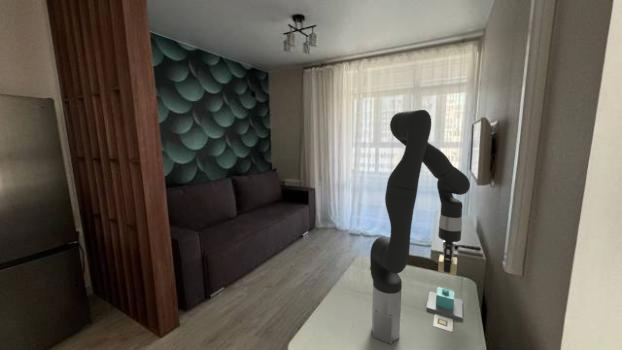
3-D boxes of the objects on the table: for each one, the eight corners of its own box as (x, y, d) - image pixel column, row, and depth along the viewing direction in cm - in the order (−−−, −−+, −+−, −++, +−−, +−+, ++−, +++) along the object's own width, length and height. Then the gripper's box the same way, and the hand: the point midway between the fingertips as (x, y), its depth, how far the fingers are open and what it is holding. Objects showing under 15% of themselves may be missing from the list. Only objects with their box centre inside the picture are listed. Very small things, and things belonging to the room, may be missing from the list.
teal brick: (453, 310, 96) (454, 297, 95) (435, 305, 99) (436, 292, 98) (453, 301, 101) (454, 288, 100) (436, 297, 104) (437, 284, 103)
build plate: (462, 320, 92) (462, 315, 92) (426, 310, 98) (426, 304, 98) (462, 302, 102) (462, 297, 102) (429, 293, 108) (429, 288, 108)
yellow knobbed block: (456, 275, 94) (457, 261, 93) (438, 271, 97) (438, 258, 96) (456, 268, 99) (457, 255, 98) (439, 264, 102) (440, 252, 101)
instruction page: (452, 332, 87) (452, 331, 87) (433, 326, 90) (433, 325, 90) (452, 319, 93) (452, 319, 93) (434, 314, 96) (434, 313, 96)
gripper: (461, 234, 87) (458, 279, 90) (461, 222, 100) (458, 262, 102) (437, 231, 91) (435, 274, 94) (440, 219, 103) (437, 258, 106)
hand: (447, 268), depth 98 cm, fingers closed on yellow knobbed block, 6 cm apart
